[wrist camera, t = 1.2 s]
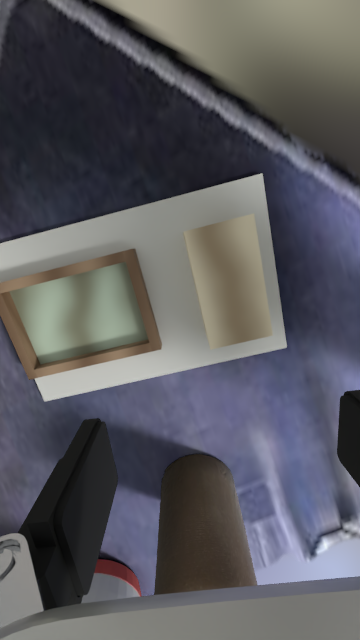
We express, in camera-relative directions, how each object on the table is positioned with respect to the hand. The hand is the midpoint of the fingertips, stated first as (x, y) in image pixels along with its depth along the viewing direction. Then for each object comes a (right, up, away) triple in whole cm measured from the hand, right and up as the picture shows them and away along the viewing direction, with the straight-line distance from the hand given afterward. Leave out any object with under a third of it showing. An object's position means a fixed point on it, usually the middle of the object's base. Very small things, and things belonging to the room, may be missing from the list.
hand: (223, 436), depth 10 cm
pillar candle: (+1, -17, +25) cm, 30 cm away
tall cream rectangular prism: (+3, +9, +16) cm, 19 cm away
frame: (-12, +5, +18) cm, 22 cm away
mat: (-6, +7, +18) cm, 20 cm away
